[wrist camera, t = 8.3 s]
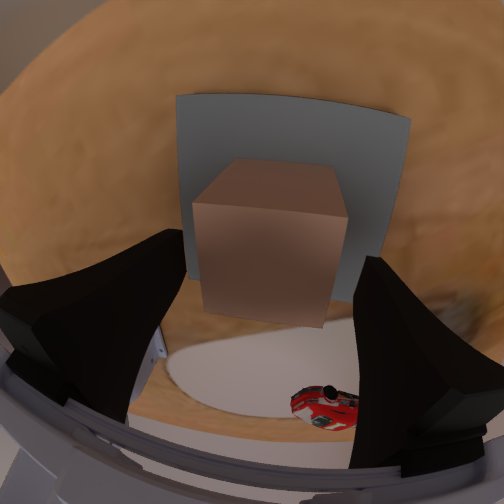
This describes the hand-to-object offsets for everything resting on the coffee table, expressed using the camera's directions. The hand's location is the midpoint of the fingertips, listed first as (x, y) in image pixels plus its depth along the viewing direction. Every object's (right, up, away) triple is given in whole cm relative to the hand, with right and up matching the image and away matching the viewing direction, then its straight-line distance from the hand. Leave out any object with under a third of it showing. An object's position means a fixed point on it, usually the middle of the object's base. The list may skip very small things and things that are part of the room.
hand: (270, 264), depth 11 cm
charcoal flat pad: (+2, +4, +7) cm, 8 cm away
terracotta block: (+1, +3, +4) cm, 5 cm away
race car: (+10, -18, +19) cm, 28 cm away
